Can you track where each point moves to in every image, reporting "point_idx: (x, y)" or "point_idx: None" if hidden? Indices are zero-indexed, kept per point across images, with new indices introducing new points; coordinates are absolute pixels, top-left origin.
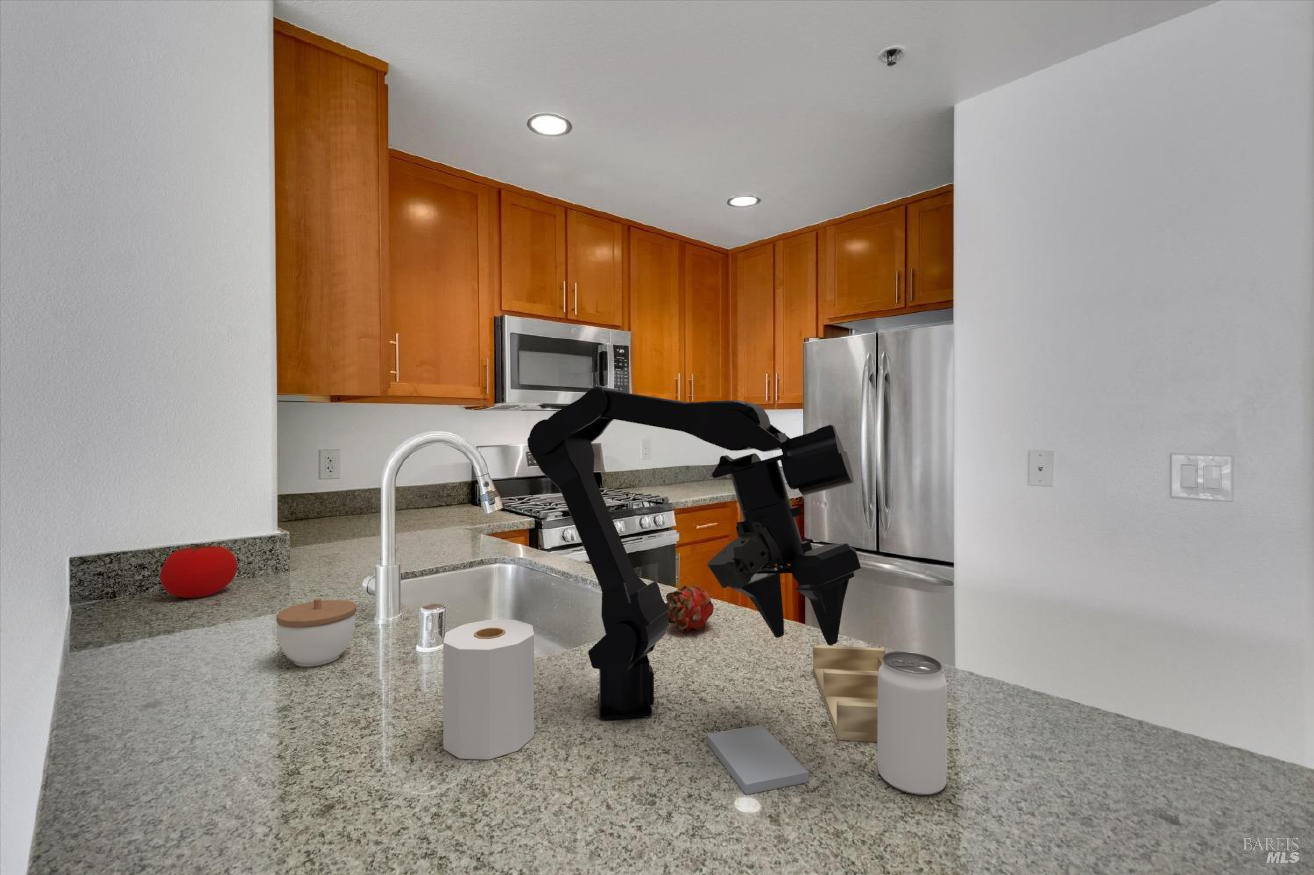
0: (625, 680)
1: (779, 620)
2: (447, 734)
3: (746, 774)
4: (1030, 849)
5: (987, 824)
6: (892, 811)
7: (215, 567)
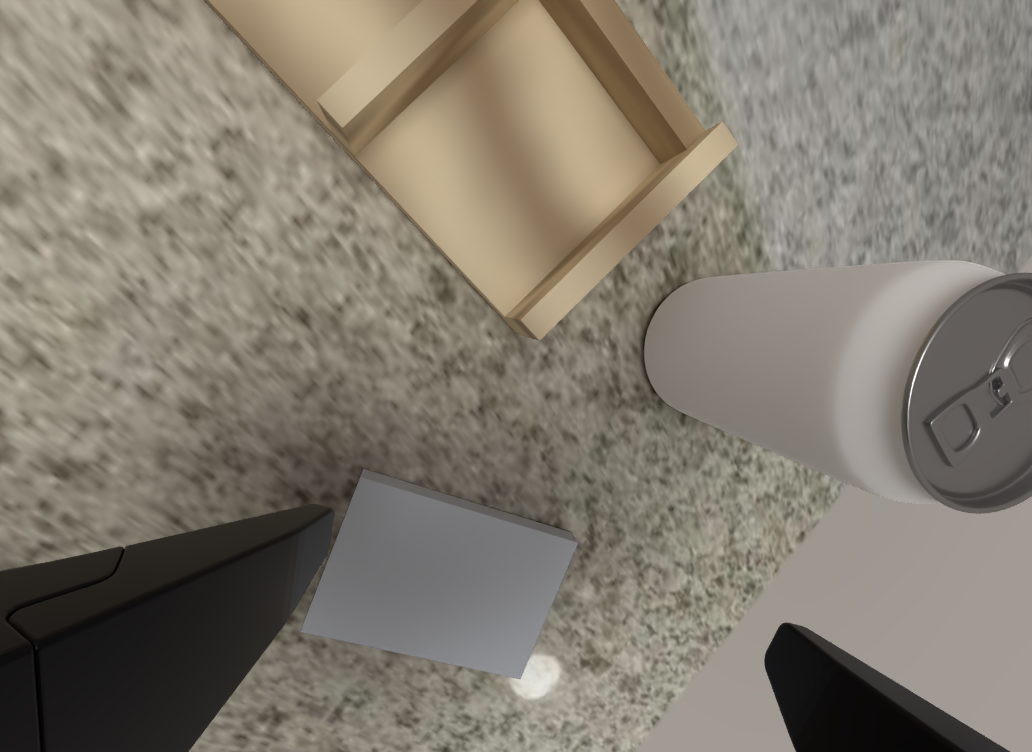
0: None
1: (284, 572)
2: None
3: (497, 657)
4: None
5: None
6: (720, 475)
7: None
